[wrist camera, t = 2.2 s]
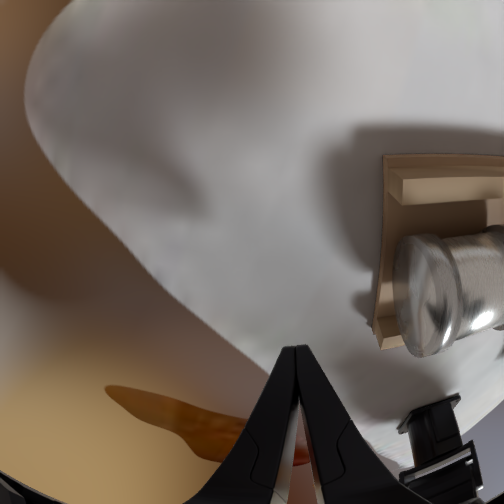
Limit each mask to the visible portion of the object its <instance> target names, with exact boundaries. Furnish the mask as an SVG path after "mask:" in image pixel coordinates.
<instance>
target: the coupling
mask: <svg viewBox="0 0 504 504" xmlns="http://www.w3.org/2000/svg"><path fill="white" fill-rule="evenodd" d="M392 289H393V301H394V308H395V314H396V319H397V323H398V327H399V331H400V334H401V336H402V339H403V341H404V343H405V345H406V347H407V349H408V350H409V351H410V353H411V354H412V355H414V356H415V357H418V358H421V357H426V356H429V355H433V354H437V353H440V352H444V351H445V350H447V349H448V348H449V347H450V346H451V345H452V344H453V343H454V341H456V340H459V339H462V338H465V337H468V336H471V335H474V334H477V333H480V332H483V331H486V330H489V329H492V328H493V329H495V330H500V331H501V330H504V224H496V225H490V226H487V227H485V228H484V229H483V230H482V231H481V232H480V233H479V234H472V235H465V236H458V237H451V238H443V239H441V238H440V237H438V236H437V235H435V234H432V233H425V234H417V235H409V236H405V237H403V238H402V239H401V240H400V241H399V243H398V245H397V247H396V251H395V255H394V260H393V270H392Z"/></svg>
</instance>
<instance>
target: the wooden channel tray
mask: <svg viewBox="0 0 504 504" xmlns="http://www.w3.org/2000/svg"><path fill="white" fill-rule="evenodd" d="M496 224H504V156H490V155H469V154H398V155H383V227H382V245H381V258H380V269H379V279H378V288H377V296H376V303H375V310H374V317H373V323H372V331H373V334H374V335H375V334H376V337H377V340H378V343H379V346H380V350H385V349H390V348H394V347H399V346H404V345H405V343H404V341H403V339H402V336H401V334H400V331H399V327H398V323H397V319H396V314H395V308H394V301H393V289H392V270H393V260H394V255H395V251H396V247H397V245H398V243H399V241H400V240H401V239H402V238H403V237H405V236H409V235H417V234H425V233H432V234H435V235H437V236H438V237H440V238H441V239H443V238H451V237H458V236H465V235H472V234H479V233H480V232H481V231H482V230H483V229H484V228H485V227H487V226H490V225H496Z"/></svg>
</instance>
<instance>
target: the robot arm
mask: <svg viewBox="0 0 504 504" xmlns="http://www.w3.org/2000/svg"><path fill="white" fill-rule="evenodd" d="M460 400H461V397H460V396H456V397H454V398H451V399H448V400H445V401H443V402H440V403H437V404H434V405H430V406H427V407H424V408H421V409H417V410H414V411H412V412H411V413H410V415H409V416H408V418H407V419H406V421H405V422H404V423H403V425H402V426H401V428H400V429H399V431H398V433H399V434H403V433H407V432H408V434H409V439H410V444H411V449H412V454H413V460H414V465H415V468H412V469H410V470H407V471H402V472H400V474H399V481H398V480H397V479H396V478H395V477H394V476H393V475H392V473H391V472H390V471H389V470H388V469H387V468H386V466H385V465H384V464H383V463H382V462H381V461H380V459H379V458H378V457H377V456H376V454H375V453H374V452H373V451H372V449H371V448H370V447H369V445H368V444H367V443H366V441H365V440H364V439H363V437H362V435H361V434H360V432H359V431H358V429H357V428H356V426H355V424H354V423H353V421H352V420H351V418H350V416H349V414H348V413H347V411H346V409H345V407H344V406H343V404H342V402H341V401H340V399H339V397H338V396H337V394H336V392H335V390H334V389H333V387H332V385H331V384H330V382H329V380H328V378H327V377H326V375H325V373H324V372H323V370H322V368H321V367H320V365H319V363H318V361H317V360H316V358H315V356H314V355H313V353H312V351H311V350H310V348H309V346H308V345H306V344H304V345H297V346H296V347H295V346H285V347H283V348H282V350H281V352H280V355H279V357H278V359H277V361H276V363H275V365H274V368H273V370H272V372H271V374H270V376H269V378H268V380H267V382H266V385H265V387H264V389H263V391H262V393H261V395H260V397H259V399H258V401H257V403H256V405H255V407H254V409H253V411H252V413H251V415H250V417H249V419H248V421H247V423H246V425H245V428H244V429H243V430H242V432H241V434H240V436H239V438H238V439H237V441H236V443H235V444H234V446H233V448H232V449H231V451H230V452H229V454H228V455H227V457H226V458H225V460H224V461H223V462H222V464H221V465H220V466H219V468H218V469H217V470H216V471H215V473H214V474H213V475H212V476H211V478H210V479H209V480H208V481H207V483H206V484H205V485H204V486H203V487H202V488H201V490H200V491H199V492H198V493H197V494H195V495H194V496H193V497H192V498H190V499H189V500H188V501H186V502H184V503H183V504H287V498H288V492H289V485H290V478H291V472H292V464H293V456H294V448H295V440H296V431H297V421H298V411H299V410H298V409H299V401H300V408H301V413H302V418H303V424H304V429H305V434H306V440H307V446H308V451H309V457H310V462H311V468H312V474H313V479H314V485H315V491H316V497H317V503H318V504H504V491H503V492H502V493H500V494H499V495H497V496H496V497H494V498H492V499H490V500H489V501H487V502H484V501H483V500H481V498H479V497H478V490H480V489H482V488H483V481H482V476H481V471H480V466H479V462H478V457H477V453H476V449H475V445H474V442H473V440H471V441H469V442H468V443H467V444H465V445H463V443H462V439H461V436H460V431H459V427H458V424H457V420H456V417H455V414H454V411H453V409H454V407H455V406H456V405H457V404H458V402H459V401H460ZM470 451H471V454H470V455H469V456H467V457H464V458H462V459H460V460H458V461H456V462H454V463H452V464H450V465H448V466H446V467H443V468H442V469H439V470H437V471H434V472H432V473H429V474H427V475H424V476H422V477H419V478H417V479H415V476H417V475H420V474H422V473H425V472H427V471H430V470H432V469H435V468H437V467H439V466H441V465H444V464H446V463H448V462H450V461H452V460H454V459H456V458H458V457H460V456H462V455H464V454H466V453H468V452H470ZM472 462H473V463H472ZM470 463H471V464H470ZM0 504H67V503H64V502H61V501H59V500H57V499H54V498H52V497H50V496H47V495H45V494H43V493H41V492H39V491H37V490H35V489H33V488H31V487H29V486H27V485H25V484H23V483H21V482H19V481H18V480H16V479H14V478H12V477H10V476H9V475H7V474H5V473H4V472H2V471H0Z"/></svg>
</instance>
